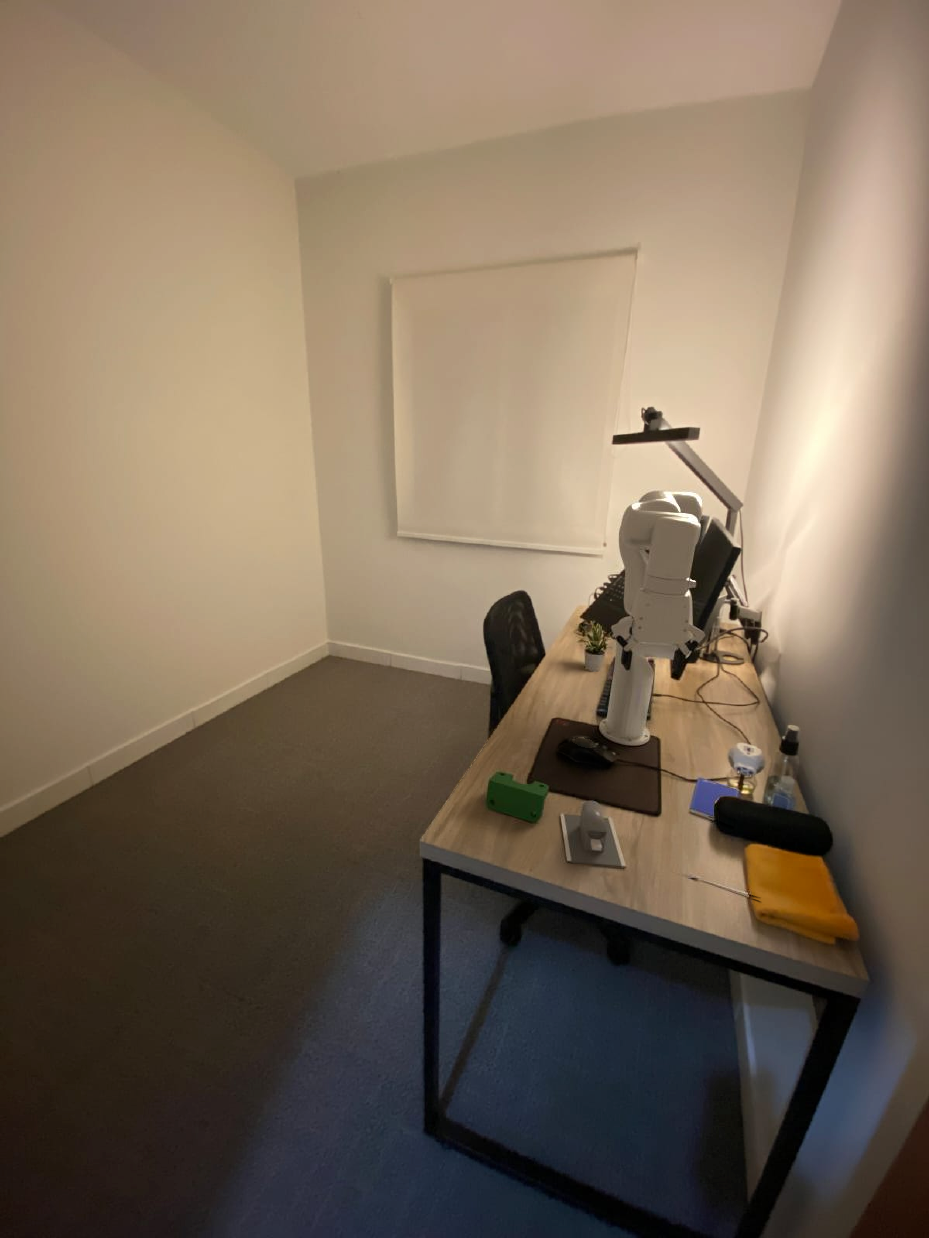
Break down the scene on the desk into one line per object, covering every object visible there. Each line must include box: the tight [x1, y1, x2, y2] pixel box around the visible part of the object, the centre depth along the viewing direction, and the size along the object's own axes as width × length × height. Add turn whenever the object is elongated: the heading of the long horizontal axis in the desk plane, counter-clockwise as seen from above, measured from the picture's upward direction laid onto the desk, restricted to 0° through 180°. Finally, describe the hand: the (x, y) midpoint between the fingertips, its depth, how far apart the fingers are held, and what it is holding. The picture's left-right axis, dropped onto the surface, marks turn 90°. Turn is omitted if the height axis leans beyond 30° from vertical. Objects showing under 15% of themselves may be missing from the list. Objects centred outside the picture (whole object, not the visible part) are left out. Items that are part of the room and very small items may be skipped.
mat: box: [559, 813, 627, 869], centre depth 91 cm, size 12×10×1 cm
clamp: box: [485, 771, 550, 823], centre depth 98 cm, size 12×6×9 cm, turn 60°
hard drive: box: [689, 776, 740, 821], centre depth 102 cm, size 2×8×12 cm
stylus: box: [669, 869, 749, 898], centre depth 83 cm, size 4×1×19 cm
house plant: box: [575, 620, 614, 672], centre depth 166 cm, size 14×14×16 cm
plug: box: [579, 800, 607, 851], centre depth 89 cm, size 8×4×6 cm, turn 175°
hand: (651, 669), depth 96 cm, fingers open, 9 cm apart
